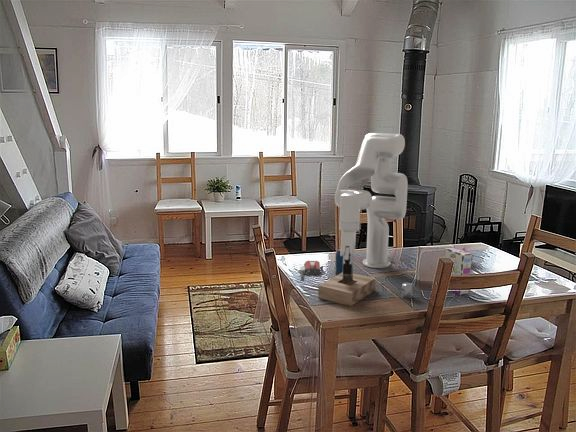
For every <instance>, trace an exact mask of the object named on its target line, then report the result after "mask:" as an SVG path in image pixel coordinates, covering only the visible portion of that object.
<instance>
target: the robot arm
mask: <svg viewBox="0 0 576 432" xmlns="http://www.w3.org/2000/svg"><path fill="white" fill-rule="evenodd" d="M405 146H406V141H405V136H404V135H402V134H401V133H390V132H388V133H386V132H370V133H367V134H366V135H364V137H363V140H362V142H361V146H360V149H359V152H358V155H357V158H356V162H355V166H353V167H351V168H350V169H349V170H347V171H346V172H345V173H344V174H343V175H342V176H341V177H340V179H339V181H338V184H337V187H336V190H335V193H334V204H335V205H336V206H337V207H338V208H339V222H338V223H339V225H338V227H339V228H338V229H339V231H341V234H340V235H341V236H340V248H341V250H340V256H343V255H344V263H343V274H351V273H352V264H351V257H352V256H353V255H354V256H355V250H356V243H357V242H356V241H357V238H356V237H357V232H358V231H360V226H361V225H360V219H361V217H360V216H361V211H364V210H366V215H367V216H366V217H367V231H366V232H367V233H366V256H365V257H366V258H364V259H363V260H362V265H364V266H365V267H368V268H373V269H386V268H389V267H390V266H391V261H390V260H388V257H389V256H390V252H389V251H388V250H389V235H390V234H389V232H390V228H389V224H388V222H387V221H386V219H392V220H402V219H404V218H405V217H406V213H407V204H408V202H407V201H408V177H407V176H406V175H405V174H404V173H401V172H392V159H393V158H397V157H398V156H399V155H401V154H402V153H403V151H404V150H405ZM368 178H370V187H371V188H370V189H371V190H372V192H374V193H377V194H385V195H394V196H395V197H394V196H385V195H384V196H383V195H373V196H372V194H371V192H370V191H368V190H363V189H355V188H349V187H350V186H351V185H353V184H354V183H356V182H358V181H361V180H364V179H368ZM349 255H350V256H349ZM349 258H350V259H349Z"/></svg>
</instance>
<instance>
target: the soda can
mask: <svg viewBox="0 0 576 432" xmlns="http://www.w3.org/2000/svg"><path fill="white" fill-rule="evenodd" d="M340 250H341V247H339V248H337V250H336V252H335V267H334V269H335V270H334V271H335V276H337V275H339V274H340V273H342V272H343V256H340Z"/></svg>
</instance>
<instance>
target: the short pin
mask: <svg viewBox="0 0 576 432" xmlns="http://www.w3.org/2000/svg"><path fill="white" fill-rule="evenodd" d="M413 288H414V284H413V283H411V282H402V283H401V297H402V298H403V299H407V300H409V299H413Z"/></svg>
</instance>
